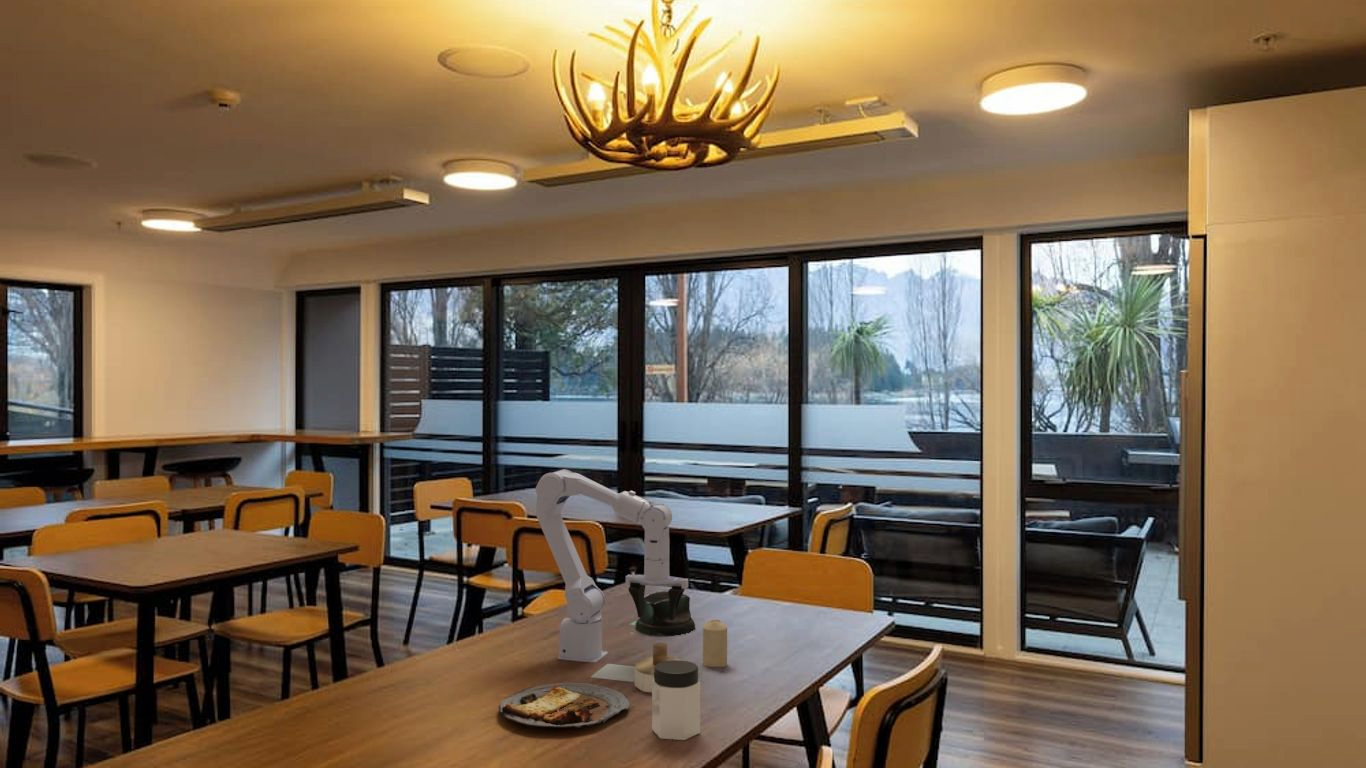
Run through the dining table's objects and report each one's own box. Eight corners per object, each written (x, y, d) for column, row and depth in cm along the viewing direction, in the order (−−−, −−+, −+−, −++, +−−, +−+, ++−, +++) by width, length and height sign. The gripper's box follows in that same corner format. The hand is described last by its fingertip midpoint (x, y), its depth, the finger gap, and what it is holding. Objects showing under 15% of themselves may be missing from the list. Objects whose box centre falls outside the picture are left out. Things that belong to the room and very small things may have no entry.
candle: (725, 669, 207) (725, 624, 207) (700, 667, 208) (700, 623, 208) (728, 662, 213) (728, 618, 213) (705, 660, 214) (705, 617, 214)
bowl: (629, 691, 192) (629, 672, 192) (645, 676, 202) (645, 658, 202) (675, 696, 189) (675, 677, 189) (689, 681, 199) (689, 662, 199)
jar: (674, 719, 176) (675, 656, 176) (708, 730, 171) (708, 665, 171) (642, 733, 169) (643, 667, 169) (676, 744, 164) (677, 677, 164)
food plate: (569, 746, 163) (569, 725, 164) (473, 721, 176) (473, 702, 176) (648, 708, 185) (649, 690, 185) (558, 688, 197) (558, 671, 197)
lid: (628, 673, 192) (629, 649, 192) (643, 658, 202) (643, 636, 202) (677, 677, 189) (677, 653, 189) (689, 662, 199) (689, 639, 199)
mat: (590, 678, 200) (590, 677, 200) (607, 665, 210) (607, 663, 210) (633, 683, 197) (633, 681, 197) (649, 669, 207) (649, 667, 207)
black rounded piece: (664, 644, 228) (664, 606, 228) (610, 629, 242) (611, 593, 242) (718, 629, 242) (718, 593, 242) (664, 615, 256) (664, 582, 256)
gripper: (620, 559, 210) (620, 619, 210) (681, 563, 205) (681, 624, 205) (631, 553, 217) (631, 612, 217) (691, 557, 212) (690, 616, 212)
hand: (656, 617), depth 211 cm, fingers open, 7 cm apart
